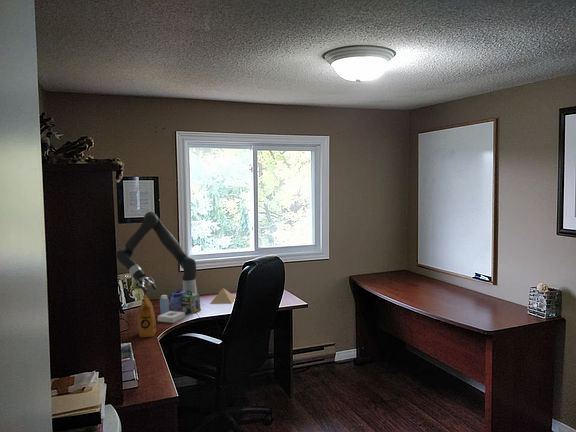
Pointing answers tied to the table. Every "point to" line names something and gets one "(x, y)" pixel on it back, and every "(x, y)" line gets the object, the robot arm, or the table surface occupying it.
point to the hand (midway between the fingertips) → (151, 290)
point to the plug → (164, 304)
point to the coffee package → (146, 319)
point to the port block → (171, 317)
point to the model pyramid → (223, 298)
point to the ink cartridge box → (176, 300)
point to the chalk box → (190, 303)
